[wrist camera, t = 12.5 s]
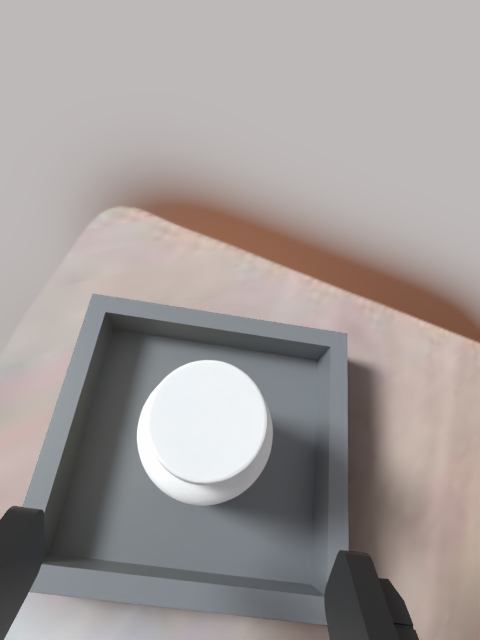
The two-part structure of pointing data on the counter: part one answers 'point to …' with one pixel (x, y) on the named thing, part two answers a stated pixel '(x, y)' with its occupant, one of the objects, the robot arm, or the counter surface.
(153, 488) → the tray
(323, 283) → the counter surface
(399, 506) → the counter surface
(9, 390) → the counter surface
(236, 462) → the supplement bottle
